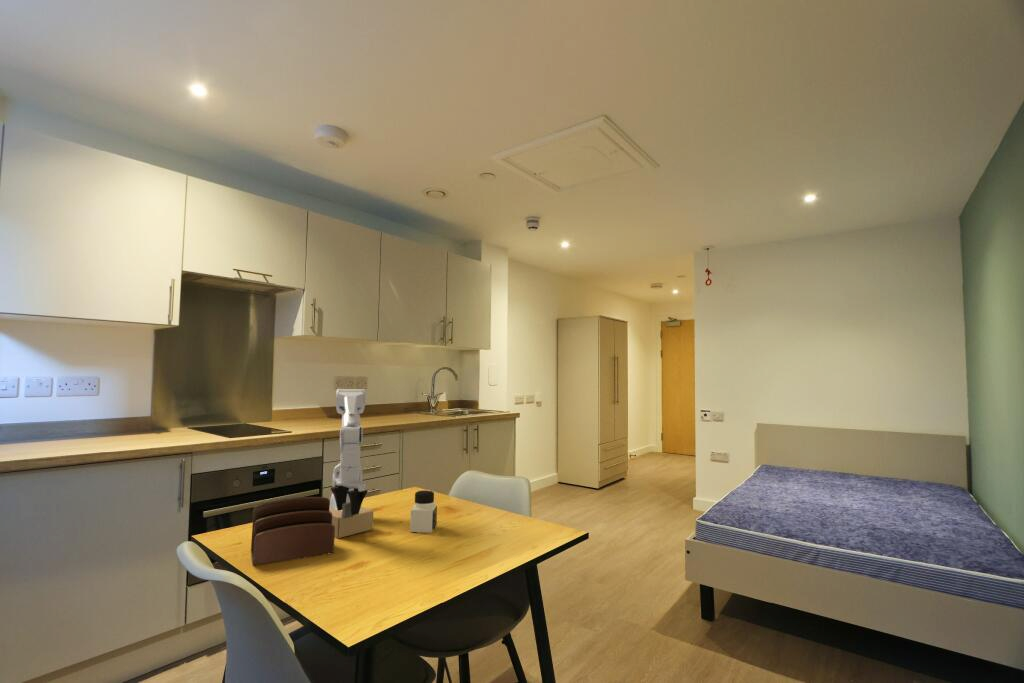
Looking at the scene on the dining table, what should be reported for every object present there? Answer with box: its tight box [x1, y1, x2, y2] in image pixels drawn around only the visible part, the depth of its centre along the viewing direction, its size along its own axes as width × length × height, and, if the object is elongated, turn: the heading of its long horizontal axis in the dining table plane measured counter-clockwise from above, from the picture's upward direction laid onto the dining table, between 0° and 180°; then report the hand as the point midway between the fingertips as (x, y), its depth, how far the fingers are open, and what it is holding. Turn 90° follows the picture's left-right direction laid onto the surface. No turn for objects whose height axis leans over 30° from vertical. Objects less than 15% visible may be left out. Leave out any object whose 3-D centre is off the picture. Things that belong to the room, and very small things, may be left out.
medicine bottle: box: [409, 489, 438, 534], centre depth 156 cm, size 7×7×12 cm
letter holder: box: [250, 496, 336, 567], centre depth 133 cm, size 10×20×14 cm, turn 120°
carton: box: [329, 506, 374, 539], centre depth 154 cm, size 10×12×6 cm
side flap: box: [338, 502, 374, 539], centre depth 150 cm, size 2×12×10 cm, turn 141°
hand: (348, 512), depth 148 cm, fingers open, 7 cm apart
